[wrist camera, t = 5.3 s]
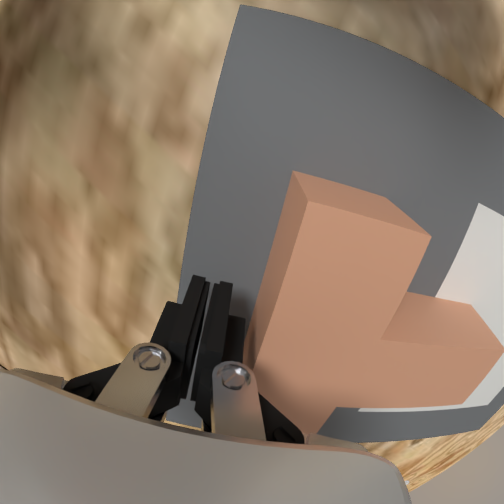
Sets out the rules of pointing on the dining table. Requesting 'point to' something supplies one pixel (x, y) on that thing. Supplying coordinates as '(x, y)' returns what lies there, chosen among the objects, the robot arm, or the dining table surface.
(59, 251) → the dining table surface
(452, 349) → the t block
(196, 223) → the mat
